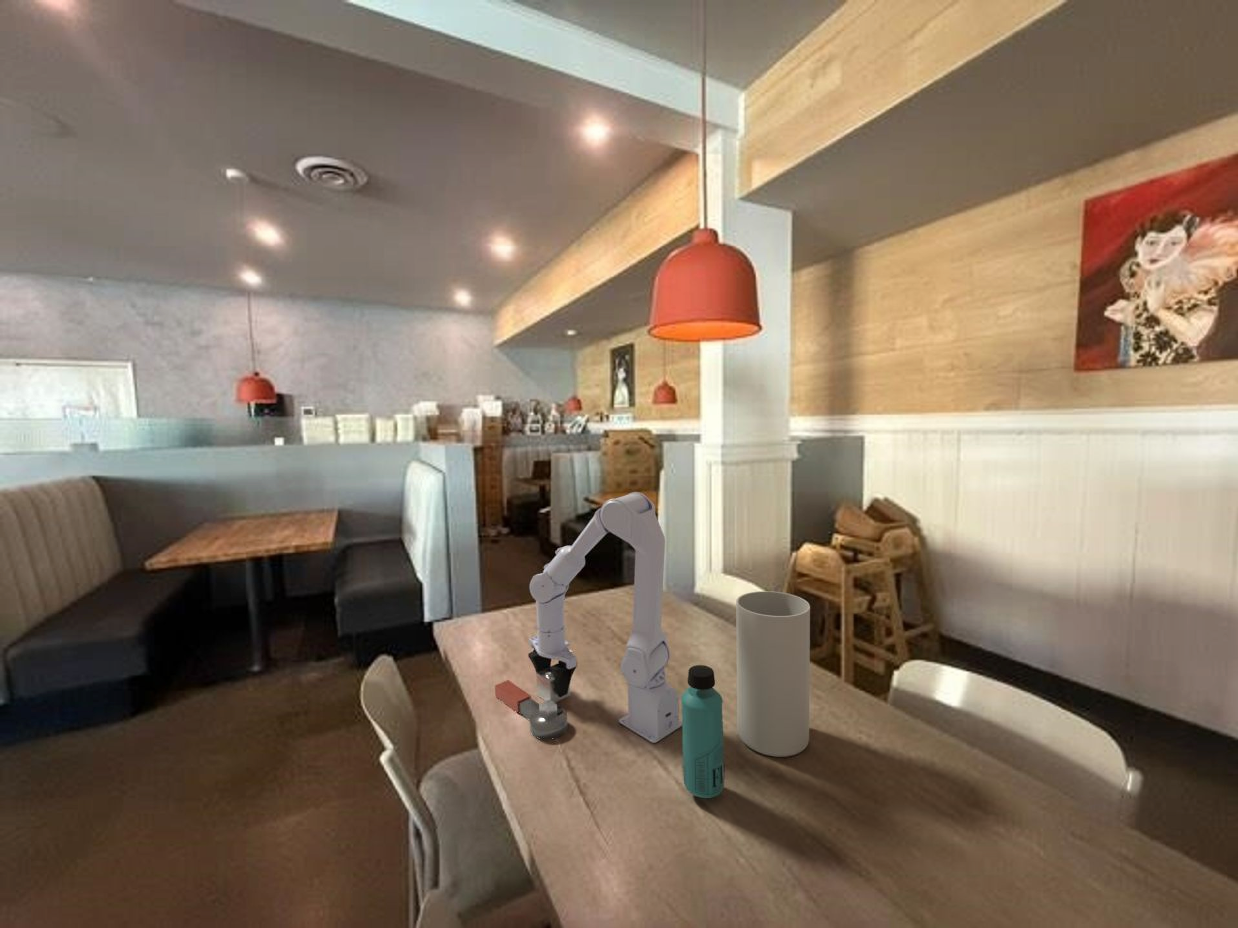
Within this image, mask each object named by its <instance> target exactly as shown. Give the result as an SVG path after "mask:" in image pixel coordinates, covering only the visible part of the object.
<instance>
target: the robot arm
mask: <svg viewBox="0 0 1238 928" xmlns="http://www.w3.org/2000/svg"><path fill="white" fill-rule="evenodd" d="M608 533H611V534H613V535H615V536H616V537H618V538H620V539H621V540H623V541H625V542H626V543H628V544H629V545H630V546H631V547H632V548H633V549H634V550H635V552H634V553H635V555H634V557H635V558H634V579H633V581H634V585H633V604H632V605H633V608H632V629H631V630H632V631H631V633H630V636H629V638H628V640H627V642H626V645H625V651H624V652H625V653H624V655H623V658H622V659H621V661H620V672H621V675H622V677H623V678H624V680H625V681H626V682H627V705H628V706H627V707H628V709H627V710H628V714H626V715H625V716H623V717H621V718H619V719H618V723H620V724H621V725H623V726H625V728H628V729H630V730H631V731H632V732H634V733H636V734H638V736H641V737H642V738H644V739H645V740H647V741H649V742H650V743H651V744H656V743H657V742H659V741H661V740H662V739H664V738H666V737H667V736H668V735H670V734H672V733H673V732H675V730H677V729H679V728H681V727H682V721H680V709H679V708H680V701H679V700H680V699H679V694H678V692H677V690H676V688H675V689H674V687H672V686H671V685H670V683H668V681H667V678H666V671H665V670H666V668H665V667H666V665H667V664H668V663H669V661H670V659H671V650H670V647H669V645H668V641H667V636H668V635H667V632H666V631H665V630H663V629H662V617H663V616H662V614H663V612H662V611H663V610H662V609H663V596H664V595H663V591H664V590H663V589H664V576H665V575H664V573H665V552H666V550H665V549H666V547H665V546H666V539H665V538H666V537H665V535H664V532H663V530H662V527H661V525H660V522H659V520H658V517H657V515H656V505H655V504H654V502H652V500H651V499H649V498H648V497H647V496H646V495H645V494H643V493H642V492H638V491H637V492H636V491H634V492H629V493H628V494H627V495H623V496H620V497H617V498H610V499H608V500H606V501H605V502H604V503H603V505H602V506H601V507H600V508H599V509H597V510H596V511H595V512H594V515H593V517H592V518H591V519H590V520H589V522H588V523H587V525H586V526H585V528H584V529H583V530H582V532H581V533H580V534H579V535H578V537H577V538H576V540H575V541H574V542H573V544H572V545H565V546H563V547H559V548H557V550H555V552H554V553H555V556H554V558H552V560H551V561H550V562H549V563H546V564H545V565H544V566H543V569H544V570H543V572H542V573H538V574H535V575H533V576H532V578H531V580H530V582H529V592H530V595H531V597H532V598H533V599H534V600H535V606H536V607H535V609H536V626H537V629H536V630H537V633H536V634H537V635H535V636H533V637H530V638H529V639H528V643H529V648H530V649H533V650H532V651H530V652H529V653H528V654H527V657H528V659H529V660H530V662H531V663H532V665H533V667H534V671H535V672H536V673H538V672H540V671H542V670H545V669H547V668H549V667H550V669H551V671H552V673H553V675H554V678H555V682H556V690H557V695H558V696H559V697H562V696H564V695H566V694H568V689H569V685H570V686H571V680H572V678H573V674H574V672H575V671H576V669H577V667H578V660H577V658H578V657H577V656H576V655H574V653H573V652H572V653H571V651H572V650H571V649H569V647H570V643H569V642H568V641H567V640H566V628H565V606H564V603H565V602H564V601H565V600H566V597H565V596H566V593H567V591H568V590H569V587H570V583H571V582H572V581H573V579H575V577H576V576H577V575H578V573H580V572H581V570H582V569H583V568H584V567H585V566H586V557H585V556H586V555H588V553H590V551H591V550H592V549H594V547H595V546H596V545H597V544H598V543H599V542H600V541H601V540H602V539H603V538H604V537H605V536H606V535H607V534H608ZM570 650H571V651H570ZM553 660H556V661H558V663H556V664H553V665H552V661H553ZM536 673H535V674H536Z"/></svg>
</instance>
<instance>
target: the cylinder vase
mask: <svg viewBox="0 0 1238 928" xmlns="http://www.w3.org/2000/svg"><path fill="white" fill-rule="evenodd" d="M735 604H736V605H735V606H736V611H735V612H736V616H735V619H736V620H735V621H736V626H735V627H736V630H735V632H736V732H737V734H738V736H739V738H740V740H741V741H742V742H743V743H744V744H745V745H746V746H747V747H748V748H750V749H751V750H753V751H755V752H757V753H759V754H762V755H766V756H770V757H774V758H775V757H776V758H777V757H778V758H783V757H791V756H795V755H798V754H800V753H801V752H803V751H805V749H806V748H807V746H808V745H809V742H810V670H811V669H810V668H811V667H810V665H811V664H810V663H811V662H810V660H811V657H810V654H811V653H810V651H811V649H810V648H811V640H810V639H811V638H810V637H811V622H810V621H811V606H810V603H809V602H808V601H807V600H805V599H804V598H802V597H800V596H798V595H795V594H791V593H786V592H780V591H772V590H770V591H769V590H762V591H760V590H759V591H751V592H747V593H744V594H741V595H740V596H737V598H736V601H735Z"/></svg>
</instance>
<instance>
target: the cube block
mask: <svg viewBox="0 0 1238 928" xmlns="http://www.w3.org/2000/svg"><path fill="white" fill-rule="evenodd" d="M535 675H536V691H537V692H536V693H537V694H536V695H538V696H537V697H539V698H540V697H541V698H540V699H542V700H543V699H544V700H543V701H544V702H545V701H547V700H551V701H553V702H554V703H558V702H559V701H561V700H564V699H566V698H568V697H571V684H570V685H569V689H568V694H566V695H564V696H562V697H559V696H558V695H557V690H556V682H555V678H554V675H553V673H552V671H551V669H550V667H549V668H547V669H545V670H542V671H540V672H538V673H535Z"/></svg>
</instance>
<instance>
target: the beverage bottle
mask: <svg viewBox="0 0 1238 928" xmlns="http://www.w3.org/2000/svg"><path fill="white" fill-rule="evenodd" d="M687 672H688V674H687V684H688V686H690V687H688V688H687V689H686V690H684V691H683V693H681V694H682V695H681V698H680V699H681V723H682V726H681V727H682V736H681V739H682V741H681V742H682V743H681V744H682V750H681V753H682V766H681V767H682V773H683V774H682V777H683V778H682V781H683V784H684V786H685V788H686V790H687V791H688V792H689V793H690V794H692V796H695V797H698V798H702V799H711V798H715V797H716V796H717V797H718V796H719V795H720V794H721V793H722V791H723V789H724V787H725V777H726V776H725V775H726V774H725V773H726V771H725V770H726V769H725V763H726V762H725V760H724V754H725V751H724V750H725V748H724V747H725V746H724V720H723V697H722V695H721V694H720V693H719V692H718V691H717V689H715V688H714V687H715V685H716V680H715V671H714V670H713V668H711V667H710V666H707V665H703V664H696V665H692V666H691V667H690V668H689V669H688V671H687Z"/></svg>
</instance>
